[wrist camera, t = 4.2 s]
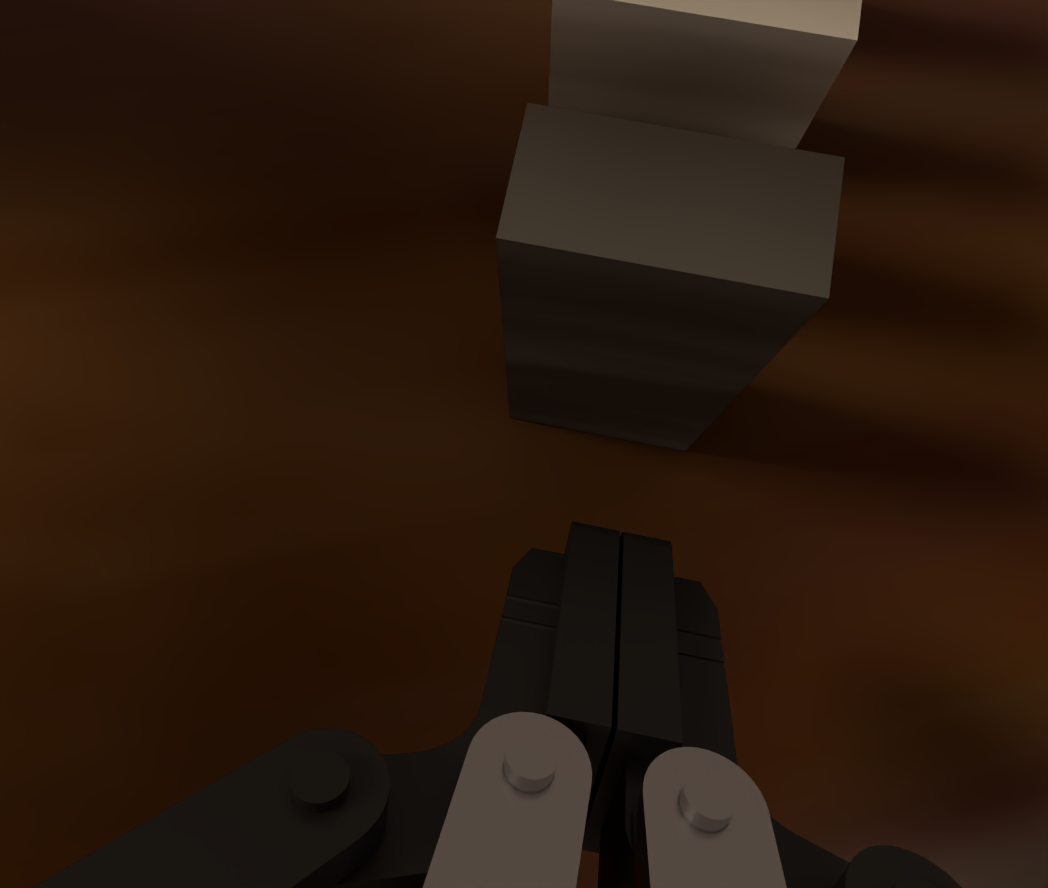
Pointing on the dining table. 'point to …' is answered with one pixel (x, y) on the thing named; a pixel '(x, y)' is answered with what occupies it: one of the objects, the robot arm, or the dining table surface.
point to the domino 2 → (654, 270)
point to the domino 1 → (702, 62)
